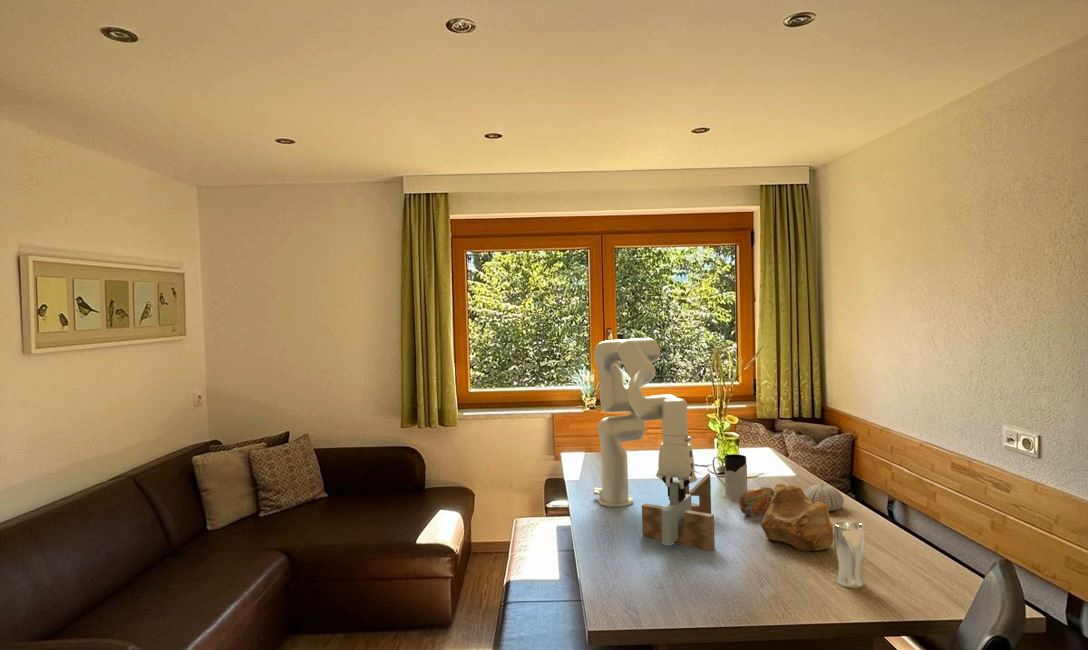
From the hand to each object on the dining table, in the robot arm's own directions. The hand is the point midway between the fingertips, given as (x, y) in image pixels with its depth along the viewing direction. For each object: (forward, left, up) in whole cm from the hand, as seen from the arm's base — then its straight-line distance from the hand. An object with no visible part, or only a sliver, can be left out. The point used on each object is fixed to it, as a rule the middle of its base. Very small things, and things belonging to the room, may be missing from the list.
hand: (676, 499), depth 191 cm
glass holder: (0, +53, -13) cm, 55 cm away
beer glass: (+48, -5, -13) cm, 50 cm away
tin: (+14, +38, -13) cm, 43 cm away
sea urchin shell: (+32, +54, -14) cm, 64 cm away
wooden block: (-4, +26, -13) cm, 30 cm away
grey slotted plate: (0, 0, -11) cm, 11 cm away
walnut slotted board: (0, 0, -13) cm, 13 cm away
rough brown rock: (+29, +17, -13) cm, 36 cm away
